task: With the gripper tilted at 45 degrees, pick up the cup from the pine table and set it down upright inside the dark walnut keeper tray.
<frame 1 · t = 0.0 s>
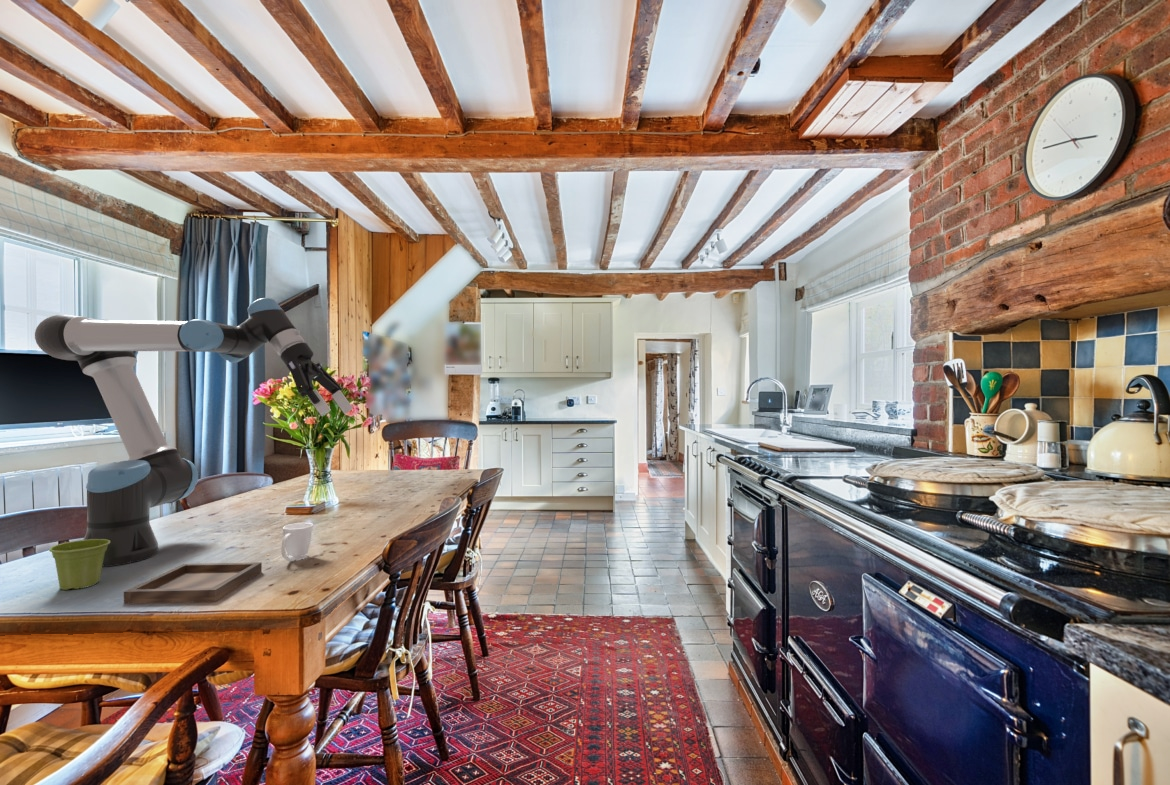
hand: (338, 412, 145), 36 cm above the table, tool tilted 35°, fingers open, 13 cm apart
plant pot: (80, 586, 113), on the table
cup: (294, 560, 130), on the table
keeper tray: (198, 586, 112), on the table
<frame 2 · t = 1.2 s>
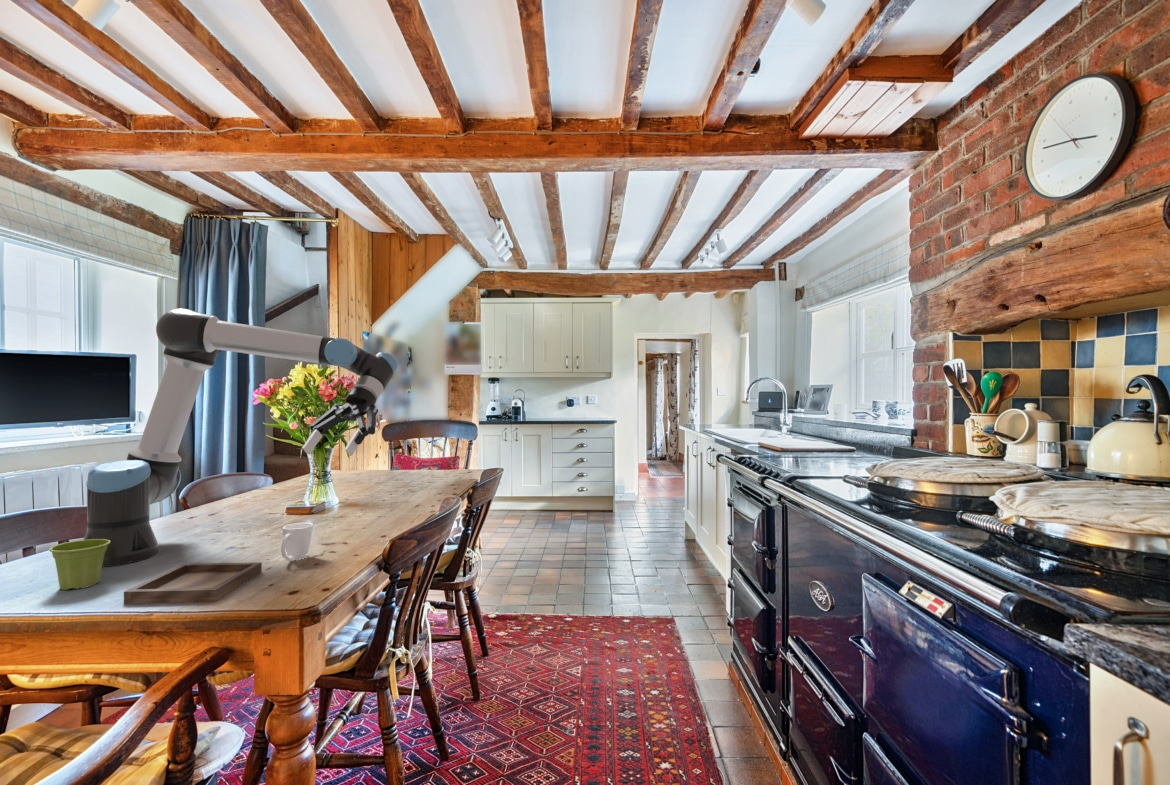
hand: (326, 451, 140), 26 cm above the table, tool tilted 45°, fingers open, 13 cm apart
nothing on the table moved.
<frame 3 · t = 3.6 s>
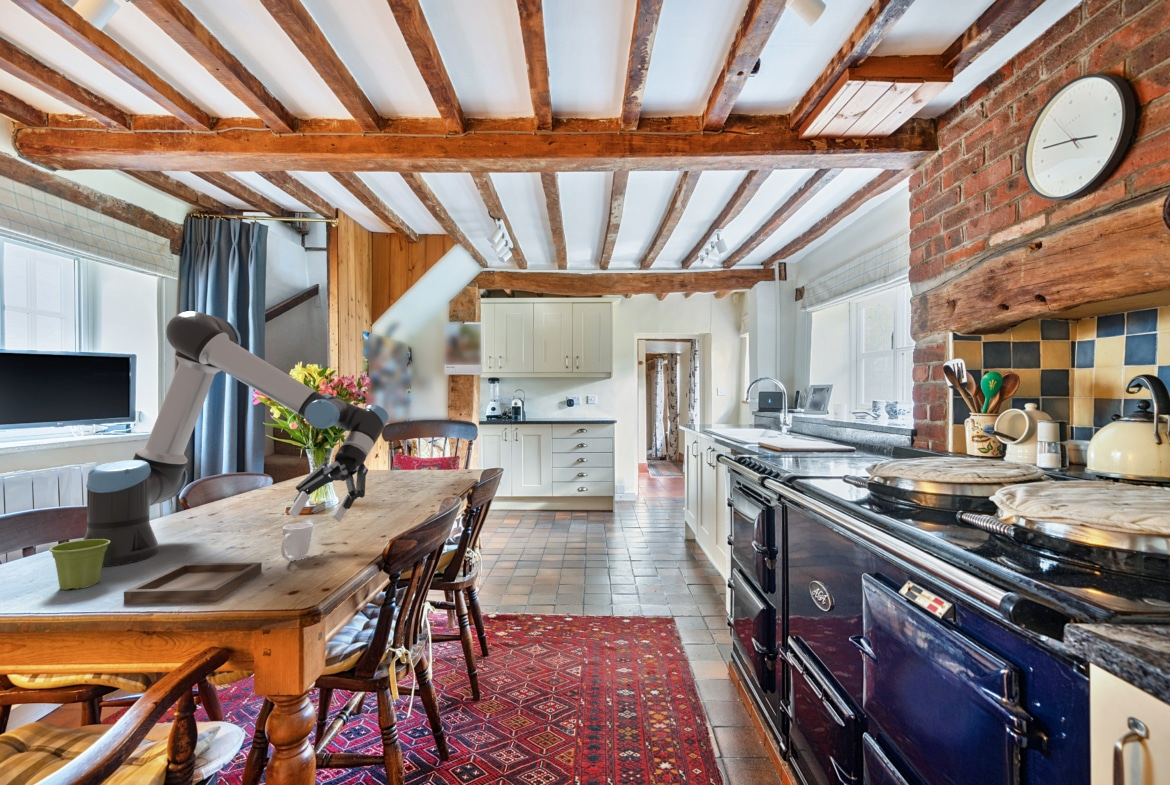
hand: (313, 517, 135), 9 cm above the table, tool tilted 45°, fingers open, 13 cm apart
nothing on the table moved.
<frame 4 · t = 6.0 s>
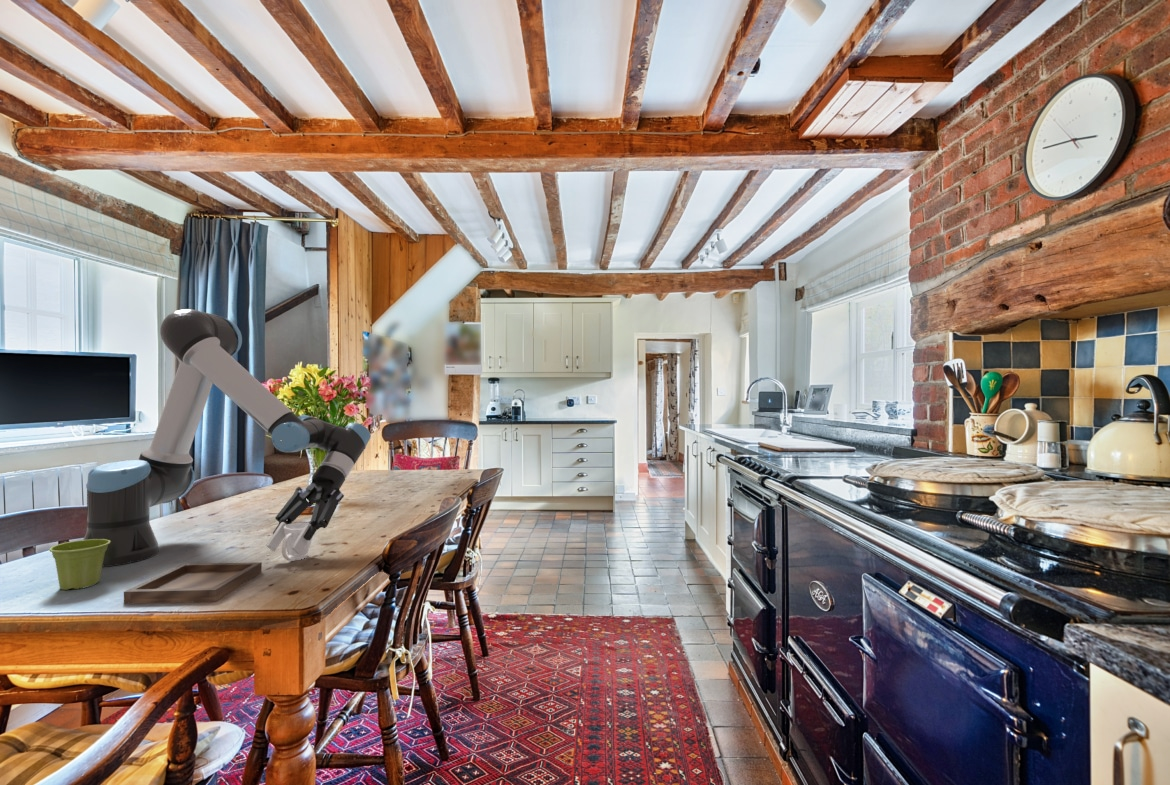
hand: (282, 549, 127), 3 cm above the table, tool tilted 45°, fingers closed on cup, 7 cm apart
cup: (294, 560, 130), on the table, touching gripper
everything else where it was.
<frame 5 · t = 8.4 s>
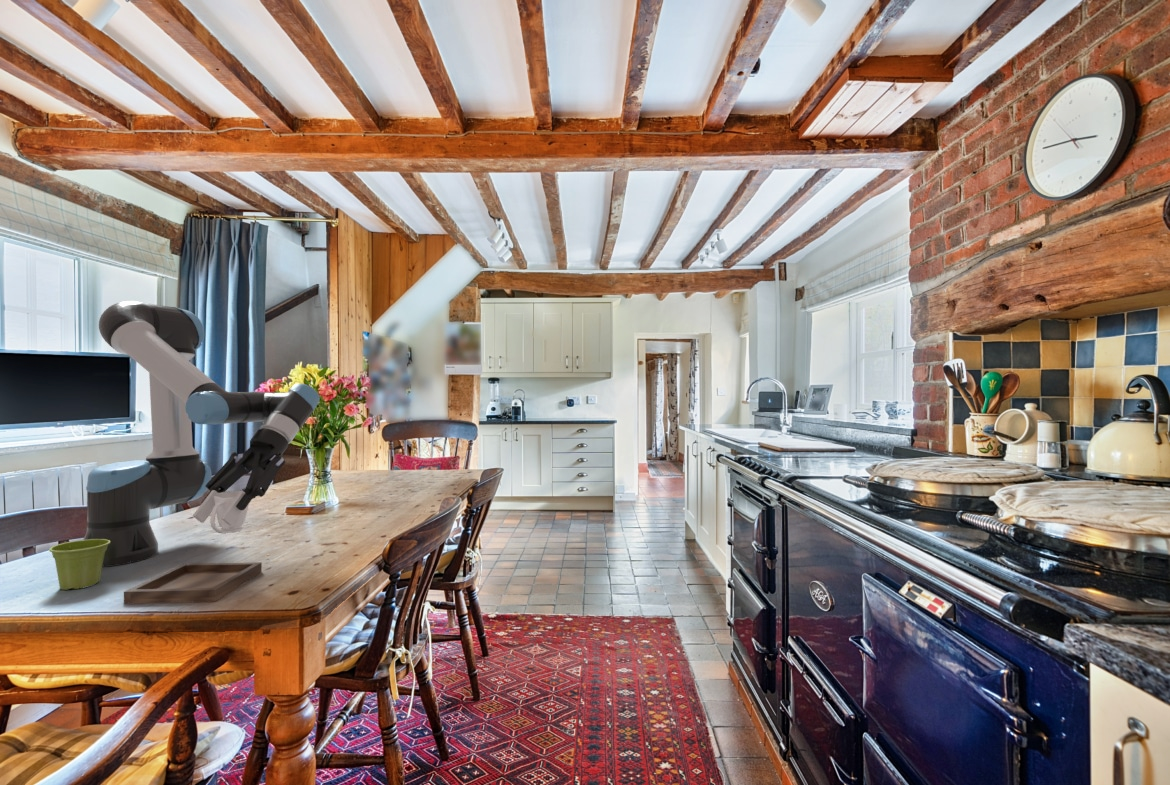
hand: (212, 520, 112), 14 cm above the table, tool tilted 45°, fingers closed on cup, 7 cm apart
cup: (227, 532, 116), point 10 cm above the table, touching gripper
everything else where it was.
when the fingers open (6 cm above the table, at t = 10.7 s): cup drops 2 cm, resting on keeper tray.
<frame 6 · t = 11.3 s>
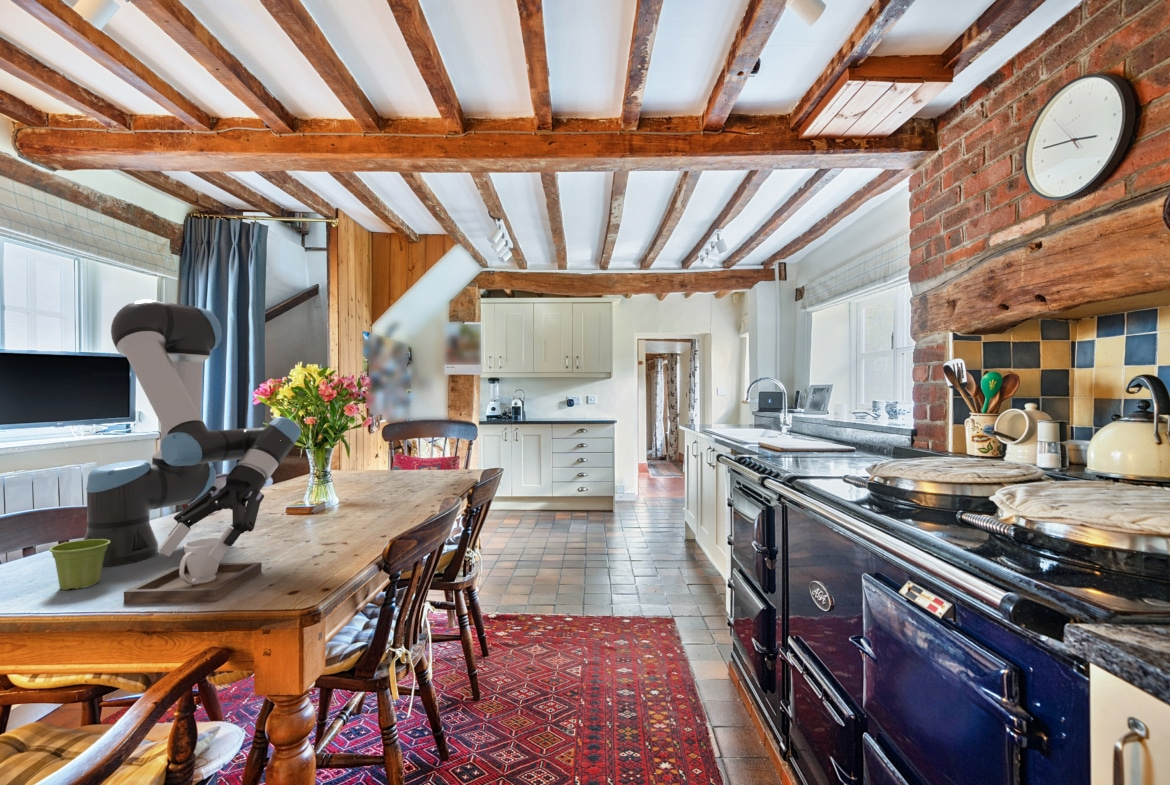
hand: (187, 556, 110), 7 cm above the table, tool tilted 45°, fingers open, 13 cm apart
cup: (199, 583, 112), point 1 cm above the table, touching keeper tray
everything else where it was.
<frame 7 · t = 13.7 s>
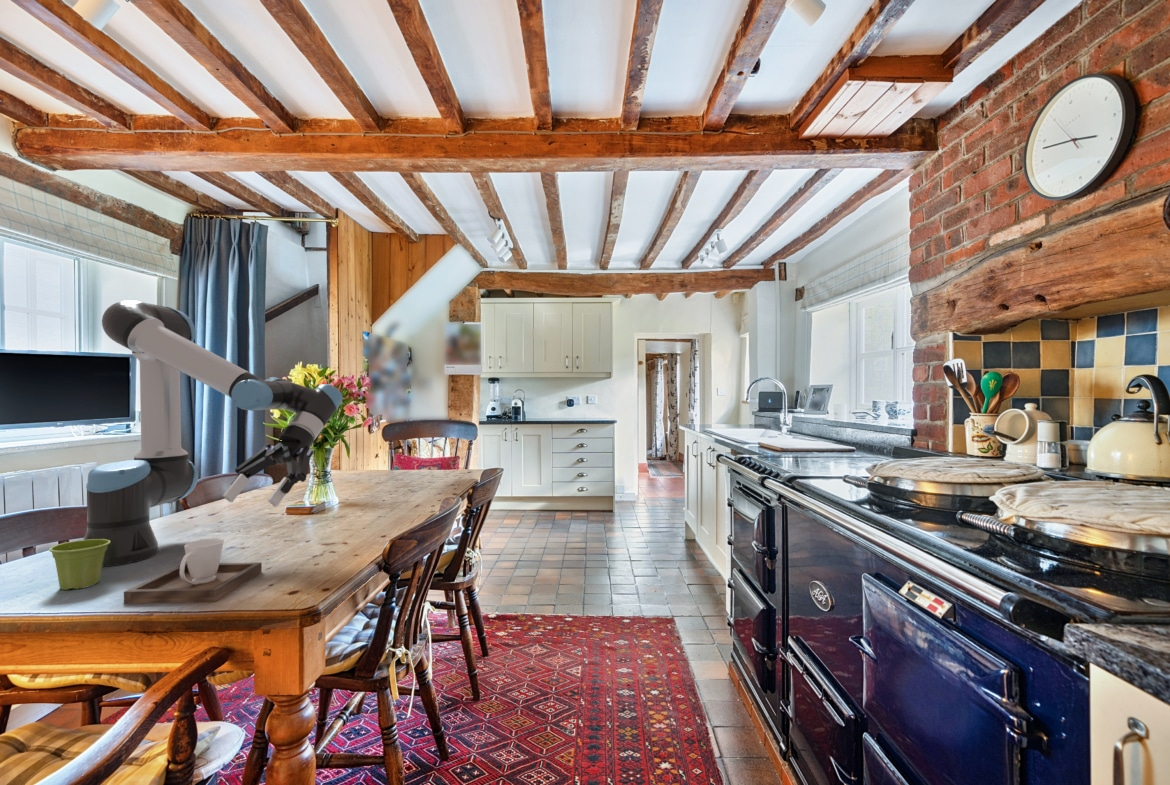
hand: (249, 501, 125), 15 cm above the table, tool tilted 45°, fingers open, 13 cm apart
nothing on the table moved.
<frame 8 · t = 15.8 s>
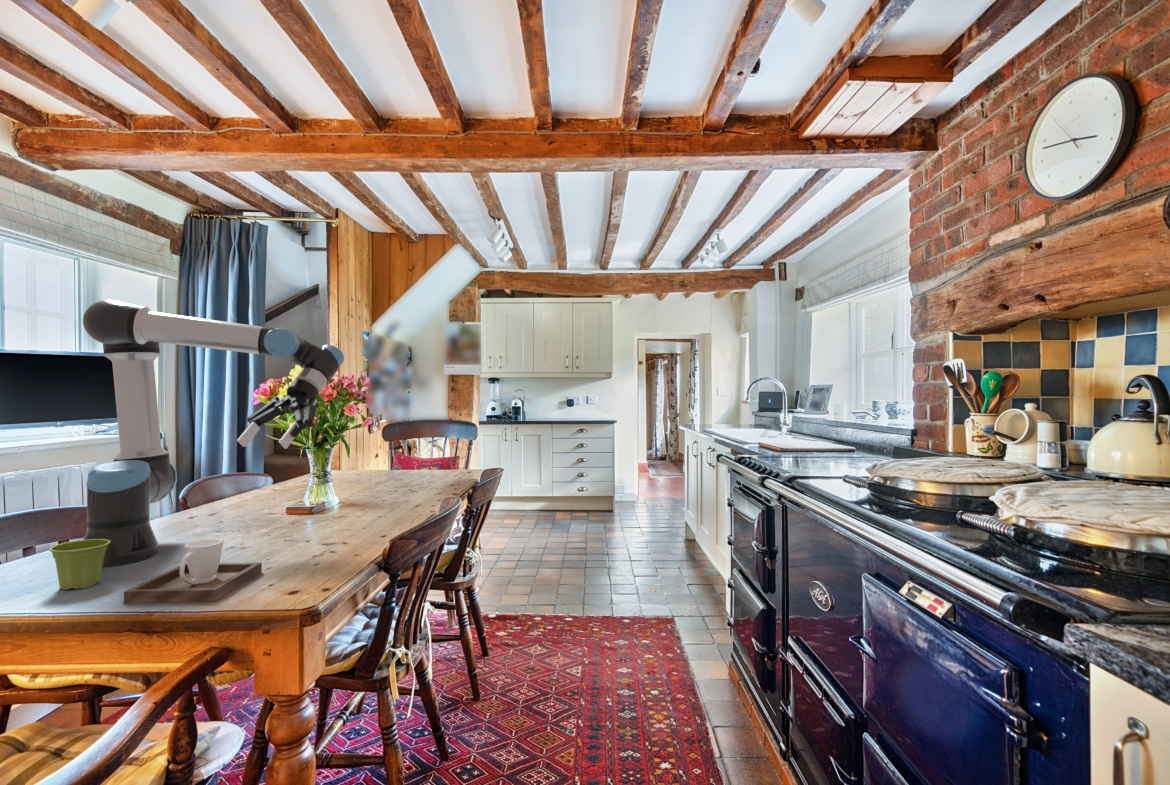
hand: (261, 444, 138), 28 cm above the table, tool tilted 45°, fingers open, 13 cm apart
nothing on the table moved.
at the end: cup inside the target area on the keeper tray (0.2 cm from its centre), point 0.6 cm above the keeper tray's base; cup tilted 0°; the gripper is holding nothing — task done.
